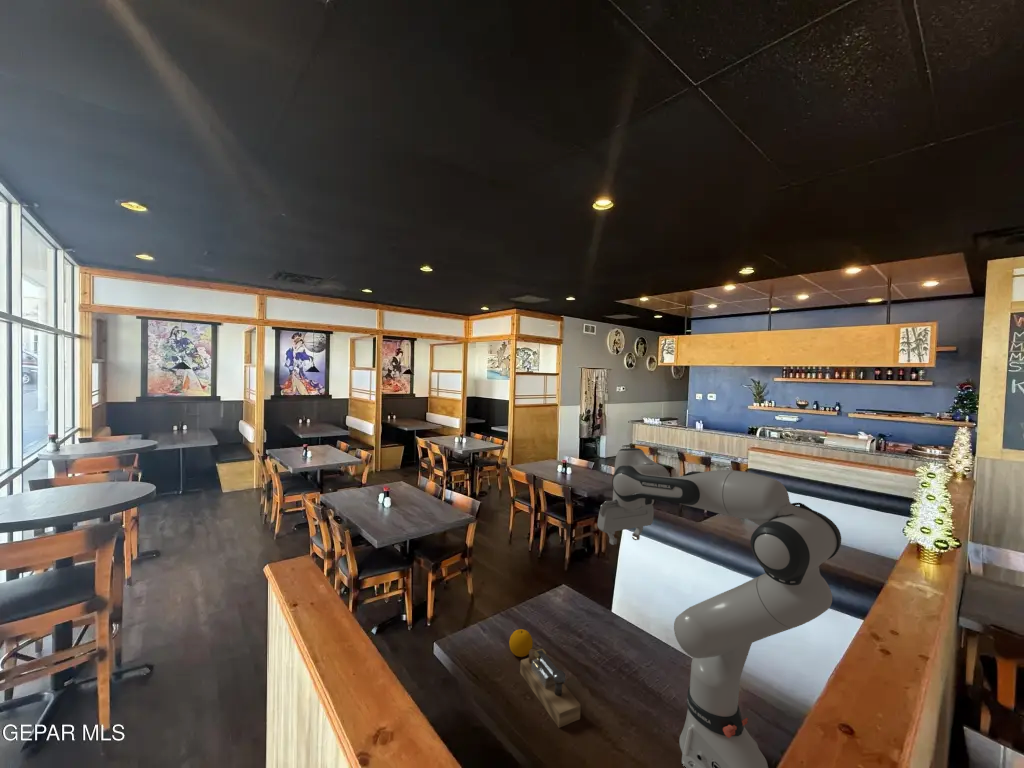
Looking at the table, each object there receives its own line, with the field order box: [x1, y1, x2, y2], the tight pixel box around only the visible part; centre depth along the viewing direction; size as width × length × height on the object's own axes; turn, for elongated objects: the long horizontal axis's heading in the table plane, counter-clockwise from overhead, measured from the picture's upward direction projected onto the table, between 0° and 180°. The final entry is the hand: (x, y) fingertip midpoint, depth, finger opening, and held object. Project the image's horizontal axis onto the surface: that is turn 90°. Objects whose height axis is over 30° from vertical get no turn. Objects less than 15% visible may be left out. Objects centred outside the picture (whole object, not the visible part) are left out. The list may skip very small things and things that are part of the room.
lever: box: [534, 647, 566, 685], centre depth 121 cm, size 13×4×2 cm, turn 27°
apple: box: [508, 628, 534, 658], centre depth 139 cm, size 8×8×8 cm
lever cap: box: [531, 659, 555, 688], centre depth 123 cm, size 8×5×3 cm, turn 27°
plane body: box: [519, 648, 582, 729], centre depth 122 cm, size 22×7×8 cm, turn 27°
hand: (624, 541), depth 130 cm, fingers open, 8 cm apart
